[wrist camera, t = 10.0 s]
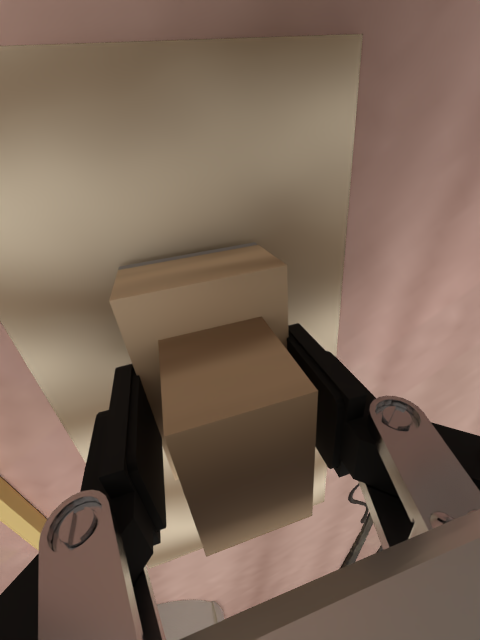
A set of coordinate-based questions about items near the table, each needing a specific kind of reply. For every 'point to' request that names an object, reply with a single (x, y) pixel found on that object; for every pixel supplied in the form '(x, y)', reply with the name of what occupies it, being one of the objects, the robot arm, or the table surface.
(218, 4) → the table surface
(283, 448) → the cork sanding block
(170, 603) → the roll of tape
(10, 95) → the birch board
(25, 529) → the pencil
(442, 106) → the table surface
